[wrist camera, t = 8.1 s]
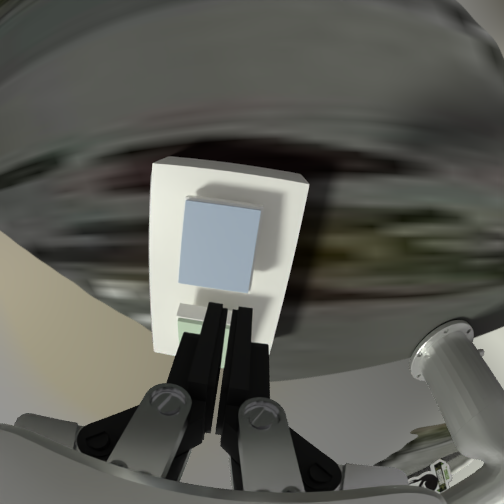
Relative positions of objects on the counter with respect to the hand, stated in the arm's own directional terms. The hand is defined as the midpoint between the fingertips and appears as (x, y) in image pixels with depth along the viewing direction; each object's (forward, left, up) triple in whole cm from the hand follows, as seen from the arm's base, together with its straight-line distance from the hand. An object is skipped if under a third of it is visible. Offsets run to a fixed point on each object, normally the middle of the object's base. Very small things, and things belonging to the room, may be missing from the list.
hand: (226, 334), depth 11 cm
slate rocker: (+2, +2, -13) cm, 13 cm away
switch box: (+2, +7, -20) cm, 21 cm away
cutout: (-69, +80, -20) cm, 108 cm away
